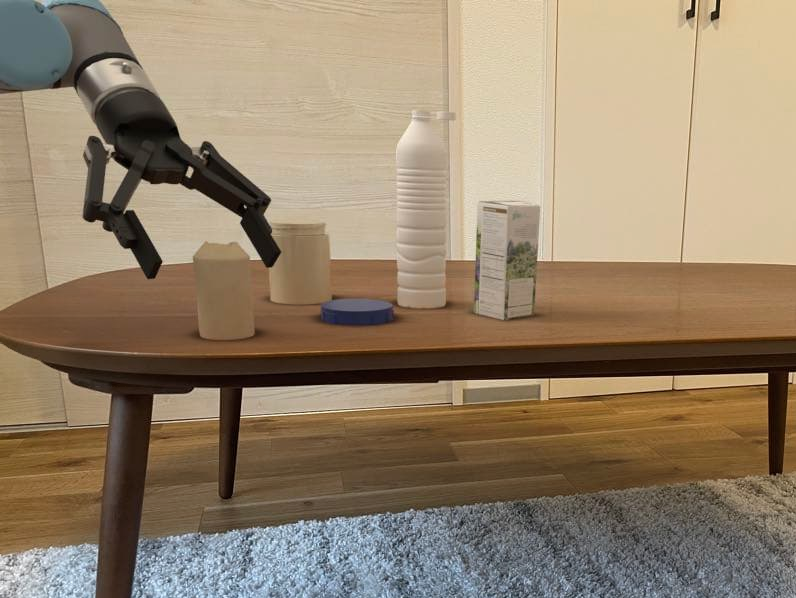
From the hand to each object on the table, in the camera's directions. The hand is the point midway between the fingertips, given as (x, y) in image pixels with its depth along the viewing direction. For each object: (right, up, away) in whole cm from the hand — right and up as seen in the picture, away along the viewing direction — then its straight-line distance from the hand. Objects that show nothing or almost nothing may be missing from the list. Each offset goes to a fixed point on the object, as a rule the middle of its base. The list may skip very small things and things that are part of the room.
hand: (218, 265), depth 82 cm
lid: (+12, -3, +12) cm, 17 cm away
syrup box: (+29, -3, +19) cm, 35 cm away
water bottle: (+19, -1, +25) cm, 31 cm away
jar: (+2, -1, +23) cm, 23 cm away
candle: (0, -8, +1) cm, 8 cm away
